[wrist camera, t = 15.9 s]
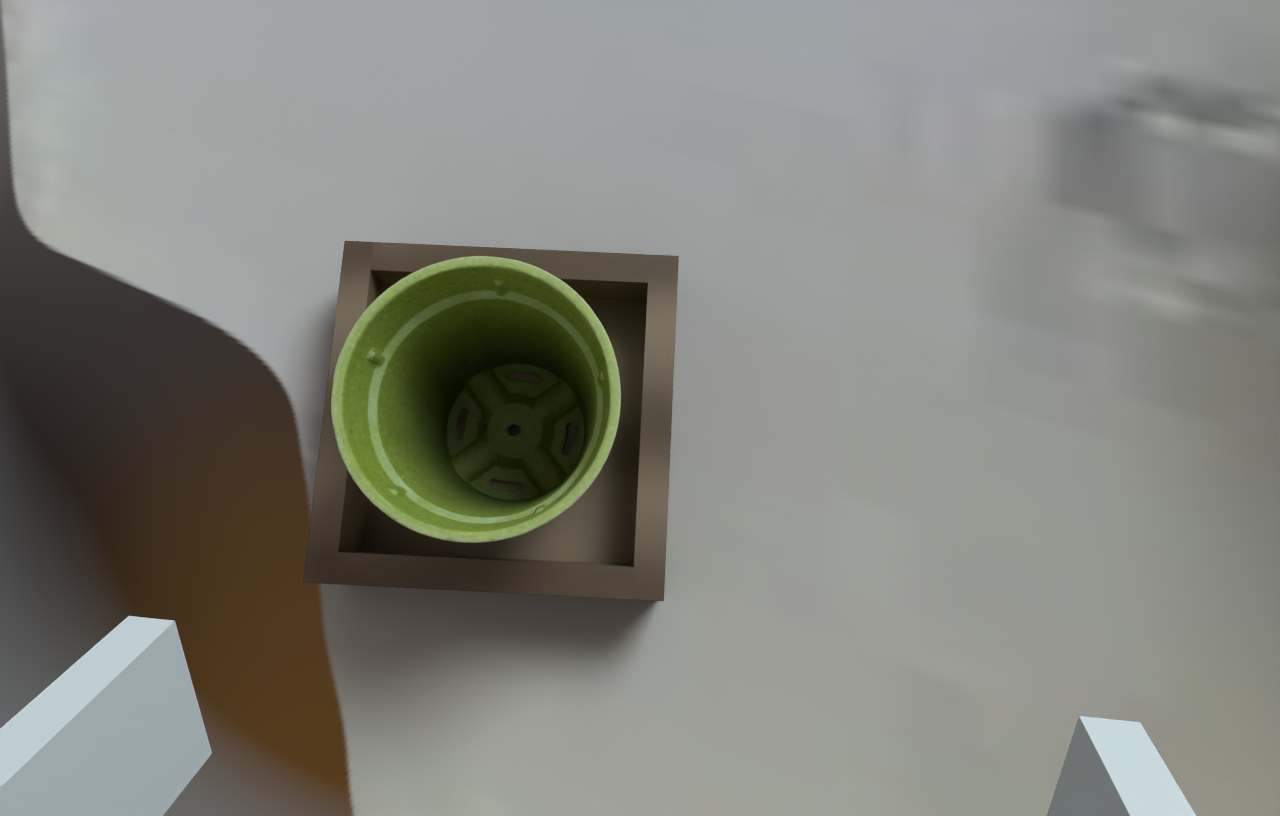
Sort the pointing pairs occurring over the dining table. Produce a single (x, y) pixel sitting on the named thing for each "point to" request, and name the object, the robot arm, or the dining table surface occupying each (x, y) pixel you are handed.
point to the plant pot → (475, 399)
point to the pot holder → (608, 510)
